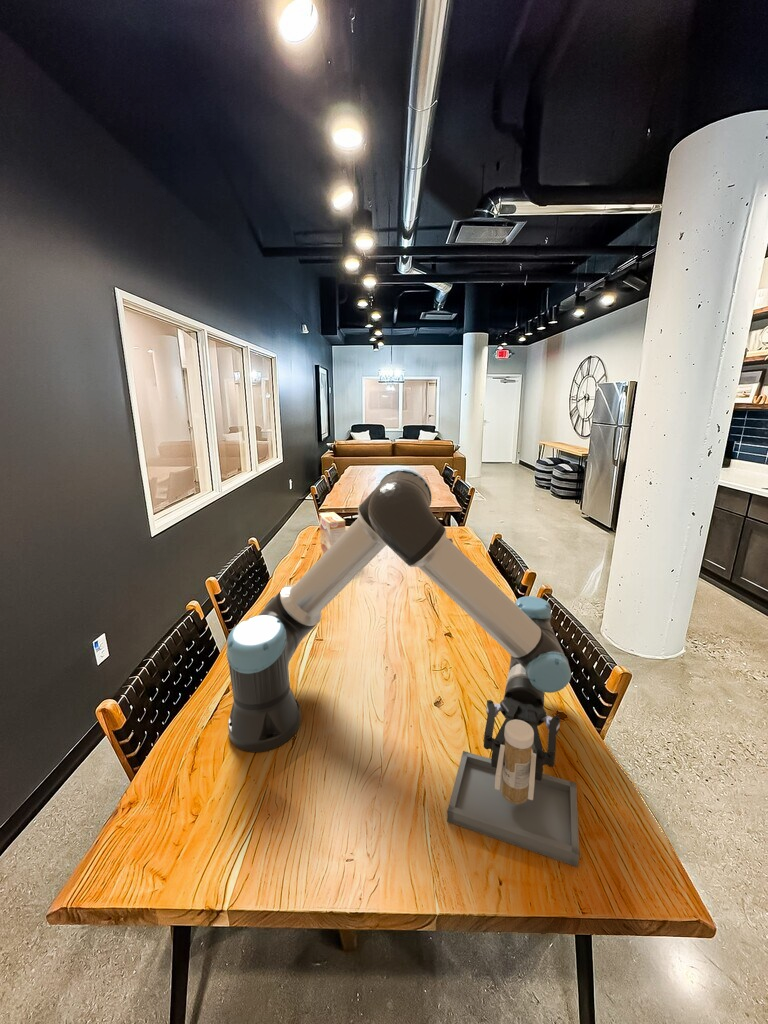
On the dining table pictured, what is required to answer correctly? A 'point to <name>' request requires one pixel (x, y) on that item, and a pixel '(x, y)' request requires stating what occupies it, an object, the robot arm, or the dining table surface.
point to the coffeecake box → (330, 529)
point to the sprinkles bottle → (517, 761)
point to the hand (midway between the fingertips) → (514, 787)
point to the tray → (517, 811)
